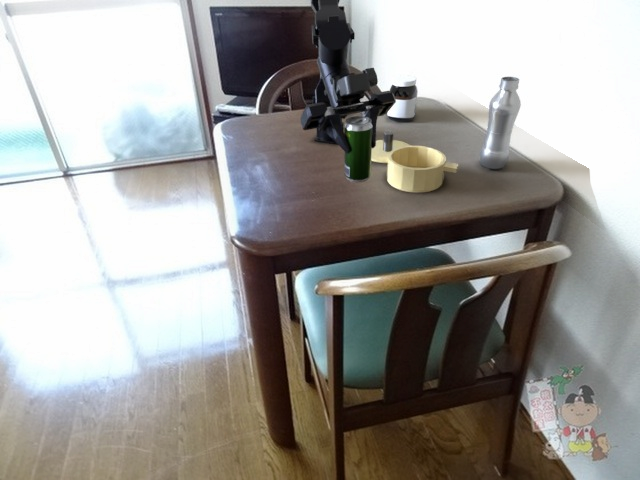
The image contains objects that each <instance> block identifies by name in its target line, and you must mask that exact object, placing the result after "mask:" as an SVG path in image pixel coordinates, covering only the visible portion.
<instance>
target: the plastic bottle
mask: <svg viewBox="0 0 640 480" xmlns="http://www.w3.org/2000/svg"><path fill="white" fill-rule="evenodd" d="M519 83H520V78H519V77H515V76H502V77H501V78H500V82H499V85H498V88H499V90H498V91H497V92H496V93H495V94H494V95H493V96H492V97H491V99H490V101H489V105H488V119H487V120H488V121H487V128H486V134H485V137H484V141H483V144H482V146H481V149H480V151H479V154H478V155H479V159H478V161H479V163H480V165H481V166H483V167H484V168H486V169H491V170H498V169H502V168H504V167H505V166H506V165H507V163H508V161H509V160H510V159H509V158H510V145H511V137H512V133H513V129H514V126H515V122H516V120H517V117H518V115H519V112H520V109H521V107H522V106H521V105H522V104H521V103H522V102H521V99H520V96H519V94H518V92H517V90H518V89H519V85H520V84H519Z"/></svg>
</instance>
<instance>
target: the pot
mask: <svg viewBox="0 0 640 480" xmlns="http://www.w3.org/2000/svg"><path fill="white" fill-rule="evenodd" d="M376 160H380V161H386V162H388V163H386V164H387V165H386V180H387V182H388V184H389V185H390V186H391V187H392V188H395V189H397V190H399V191H403V192H407V193H415V194H417V193H421V194H422V193H428V192H431V191H435V190H438V189H439V188H440V187H441V186H442V185H443V182H444V178H445V173H446V172H449V173H455V174H456V173H457V171H458V169H459V163H455V162H449V161H447V157H446V155H445V154H444V153H443V152H441V151H440V150H439V149H436V148H433V147H430V146H424V145H411V146H404V147H399V148H396V149H394V150H392V151H391V152H390V153H383V152H379V154H378V155H377V156H376Z"/></svg>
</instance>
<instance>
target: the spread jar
mask: <svg viewBox="0 0 640 480" xmlns="http://www.w3.org/2000/svg"><path fill="white" fill-rule="evenodd" d="M416 84H417V77H415V76H414V75H406V74H405V75H404V74H400V75H399V74H398V75H395V76H393V77H392V78H391V85H390V88H389V91H390V92H392V93H393V94H394V97H395V100H396V103H395V104H394V105H393V106H392V107H391V109H390V110H389V111H388V112H387V113H386V114H387V117H388V119H390V120H391V121H393V122H396V123H407V122H411V121H412V120H414V118H415V115H416V112H417V102H418V92H419V91H418V86H417V85H416Z"/></svg>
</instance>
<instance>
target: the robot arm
mask: <svg viewBox="0 0 640 480" xmlns="http://www.w3.org/2000/svg"><path fill="white" fill-rule="evenodd" d="M339 5H340V0H310V7H311V9H312V11H313V12H314V24H311V39H312V45H313V46H315V49H316V50H318V56H317V59H316V64H317V67H318V70H319V81H318V82H317V85H316V87H315V89H314V96H312V103H309V104H306V105H305V107H304V109H303V111H302V114H301V116H300V118H299V119H300V126H301V128H302V131H309V130H314V129H315V130H316V137H315V138H313V140H314V142H319V143H325V144H332V145H336V144H337V145H338V146H339V147H340V148H341V149H342V150H343V151H344V153H345V152H346V153H347V154H348V153H349V152H350V149H349V145H348V142H347V139H346V137H345V133H344V126H345V124H344V122H343V119H344V120H346V117H348V116H349V115H354V114H361V115H362V116H363V117H368V118H370V119H371V120H372V122H371V123H372V125H373V128H372V148H374V147H375V146H376V140H377V120H378V117H383V116H385V115H387V114H388V113H387V112H388V111H389V110H390V109H391V107H392V106H393V105H394V104H395V103H396V100H395V97H394V94H393V93H392V92H390V90H385V91H378V92H374V93H372V95H371V97H370V98H369V99H368V100H365V101H364V100H363V101H361V100H362V99H364V98H365V96H366V94H365V92H371V91H372V89H371V88H372V87H374V86H377V85H378V82H379V81H378V80H379V79H378V75H377V72H376V70H375V68H374V67H367V68H365V69H363V70H362V71H361V73H355V72H351V69H350V66H349V63H348V58H349V52H350V45H351V44H352V42H353V41H354V40H355V38H356V37H355V34H356V33H355V31H354V29H353V28H352V26H351V24H350V22H347V21H348V20H347V15H346V12H345V11H344V10H343V9H341V8H340V7H339Z"/></svg>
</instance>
